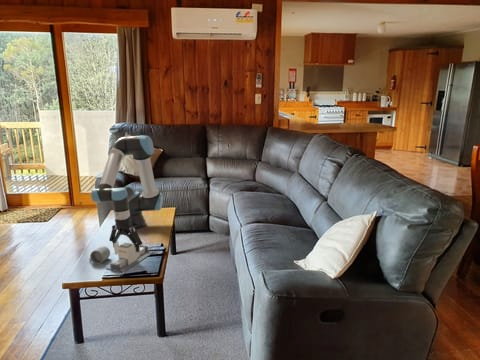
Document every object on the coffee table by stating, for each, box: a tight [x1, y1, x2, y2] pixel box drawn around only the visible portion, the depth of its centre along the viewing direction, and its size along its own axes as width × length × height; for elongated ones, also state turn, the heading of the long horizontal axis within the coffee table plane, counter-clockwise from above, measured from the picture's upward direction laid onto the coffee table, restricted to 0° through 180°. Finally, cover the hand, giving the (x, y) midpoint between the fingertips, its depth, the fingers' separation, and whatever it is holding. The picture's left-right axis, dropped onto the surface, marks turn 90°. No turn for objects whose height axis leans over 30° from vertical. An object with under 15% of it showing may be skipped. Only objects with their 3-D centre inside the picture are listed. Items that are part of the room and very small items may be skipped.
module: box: [117, 242, 137, 265], centre depth 185 cm, size 6×7×10 cm
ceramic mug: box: [88, 246, 111, 265], centre depth 188 cm, size 11×8×8 cm
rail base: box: [105, 244, 154, 273], centre depth 188 cm, size 24×12×4 cm, turn 156°
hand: (127, 255), depth 185 cm, fingers open, 13 cm apart
